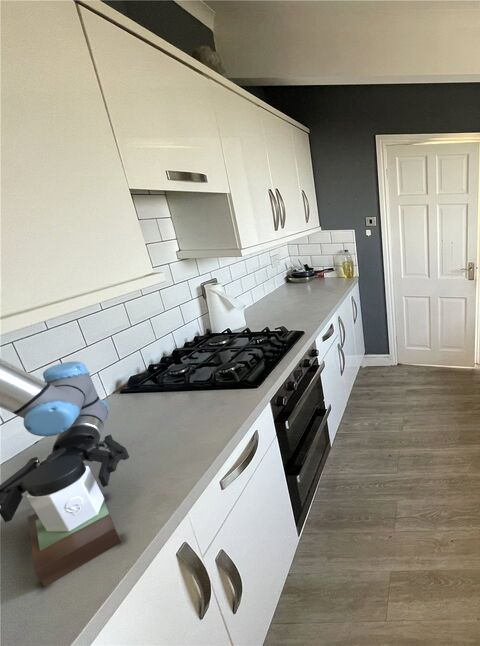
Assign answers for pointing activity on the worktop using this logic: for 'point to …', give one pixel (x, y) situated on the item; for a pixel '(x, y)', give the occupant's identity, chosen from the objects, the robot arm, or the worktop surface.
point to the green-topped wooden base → (70, 545)
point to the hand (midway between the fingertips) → (56, 497)
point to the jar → (63, 494)
